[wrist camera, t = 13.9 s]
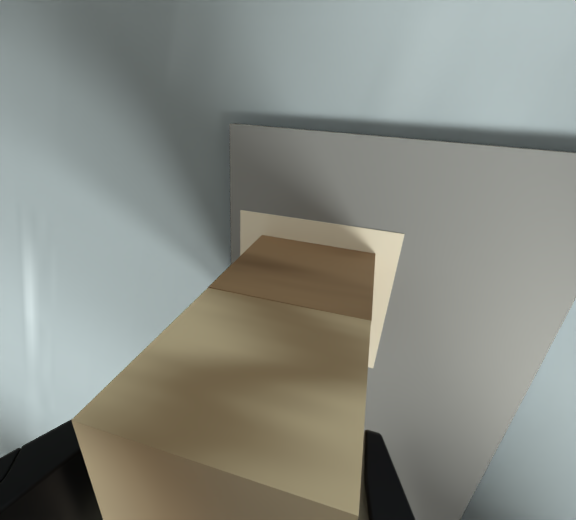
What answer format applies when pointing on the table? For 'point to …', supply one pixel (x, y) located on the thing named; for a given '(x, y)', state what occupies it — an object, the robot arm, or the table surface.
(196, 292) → the table surface
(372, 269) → the block
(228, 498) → the block
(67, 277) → the table surface
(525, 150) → the board
